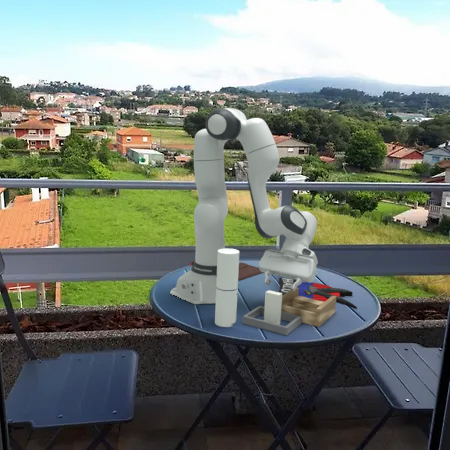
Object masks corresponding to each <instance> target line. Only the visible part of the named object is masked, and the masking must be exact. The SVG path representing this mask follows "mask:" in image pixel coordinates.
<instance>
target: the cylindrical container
mask: <svg viewBox="0 0 450 450" xmlns="http://www.w3.org/2000/svg"><path fill="white" fill-rule="evenodd" d="M239 263H240V250H238V249H236V248H228V247H225V249H219V250H218V255H217V281H216V303H215V308H214V310H215V311H214V313H215V315H214V324H215V325H216V326H217V327H221V328H230V327H234V326H235V323H236V322H237V312H238V311H237V307H238V306H237V305H238V290H239V289H238V288H239V287H238V286H239V281H238V271H239Z"/></svg>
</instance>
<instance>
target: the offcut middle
mask: <svg viewBox="0 0 450 450" xmlns="http://www.w3.org/2000/svg"><path fill="white" fill-rule="evenodd" d="M293 307H296V308H300V309H305V310H309V311H314V312H316V308H313V307H309V306H305V305H301V304H298V303H293Z"/></svg>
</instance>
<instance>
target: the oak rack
mask: <svg viewBox="0 0 450 450" xmlns="http://www.w3.org/2000/svg"><path fill="white" fill-rule="evenodd" d="M298 293H299V288H296V289H295V291H292V290H290V291H289V292H287V293H286V294H284V295H283V296H282V306H281V311H282V312H286V313H290V314H294V315H298V316H302V321H301V324H302V323H303V324H307V325H310V326H314V327H318V328H320V327H322V325H323V324H324V323H326V321H328V319H330V318H331V317H332V316H333V315H334V314H335V313H336V307H337V306H336V305H337V302H336V297H337V296H331V297H330V298H329V299H328V300H326V301H323V302H324V303H323V304H322V305H320V306H319V307H318V308H317V309H316V313H315V312H311V311H307V310H303V309H299V308H295V307H293V303H294V298H295V297H297V296H298Z"/></svg>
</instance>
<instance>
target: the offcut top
mask: <svg viewBox="0 0 450 450" xmlns="http://www.w3.org/2000/svg"><path fill="white" fill-rule="evenodd" d="M324 302H325V301H318V300H314V299H310V298H306V297H303V296H297V297H295V298H294V303H298V304H301V305H305V306H309V307H313V308H316V309H317V308H318V307H319V306H320V305H322V304H323V303H324Z"/></svg>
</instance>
